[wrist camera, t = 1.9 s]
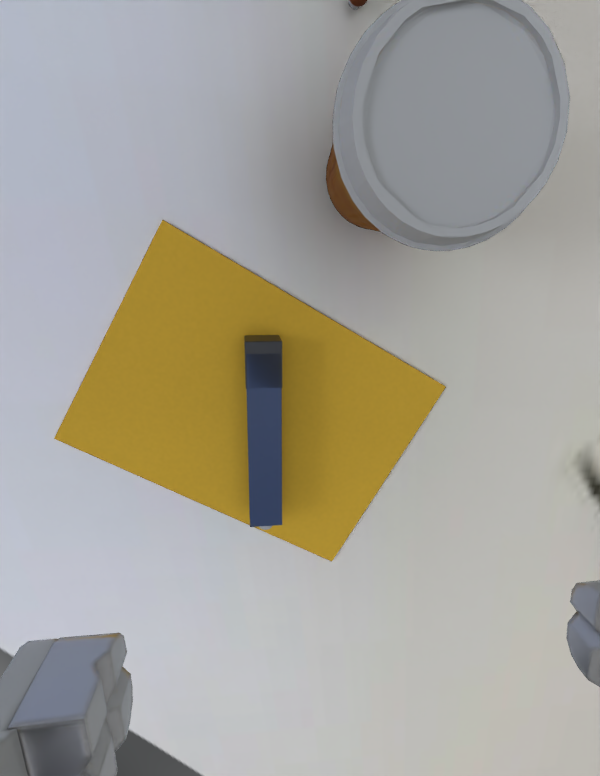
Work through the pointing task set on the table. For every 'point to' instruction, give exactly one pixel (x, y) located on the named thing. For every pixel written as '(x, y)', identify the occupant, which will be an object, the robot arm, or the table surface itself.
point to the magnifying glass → (356, 3)
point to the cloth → (243, 395)
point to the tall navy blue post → (264, 428)
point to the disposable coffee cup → (447, 121)
